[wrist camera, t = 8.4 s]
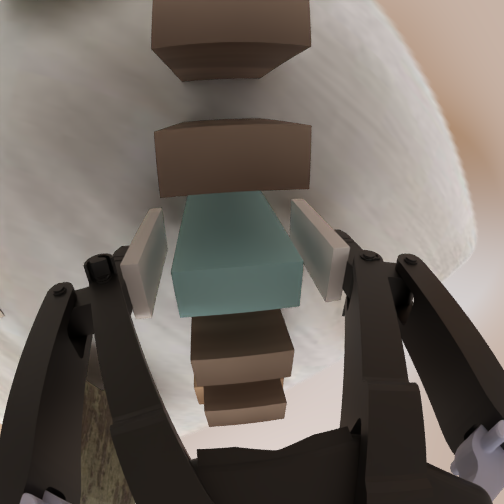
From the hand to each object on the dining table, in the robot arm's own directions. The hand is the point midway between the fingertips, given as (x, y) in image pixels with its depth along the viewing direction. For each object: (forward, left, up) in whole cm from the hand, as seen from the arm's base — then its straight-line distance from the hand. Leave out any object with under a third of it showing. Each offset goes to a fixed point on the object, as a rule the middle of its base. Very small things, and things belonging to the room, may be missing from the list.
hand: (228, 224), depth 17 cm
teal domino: (0, 0, -3) cm, 3 cm away
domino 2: (-5, 0, -3) cm, 6 cm away
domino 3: (+5, 0, -3) cm, 6 cm away
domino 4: (+10, 0, -3) cm, 10 cm away
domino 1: (-10, 0, -3) cm, 10 cm away
